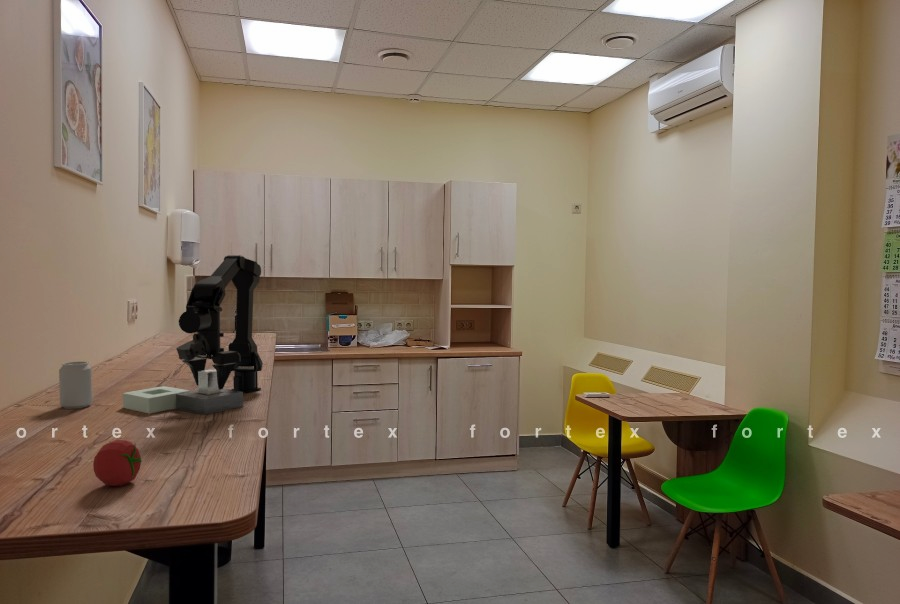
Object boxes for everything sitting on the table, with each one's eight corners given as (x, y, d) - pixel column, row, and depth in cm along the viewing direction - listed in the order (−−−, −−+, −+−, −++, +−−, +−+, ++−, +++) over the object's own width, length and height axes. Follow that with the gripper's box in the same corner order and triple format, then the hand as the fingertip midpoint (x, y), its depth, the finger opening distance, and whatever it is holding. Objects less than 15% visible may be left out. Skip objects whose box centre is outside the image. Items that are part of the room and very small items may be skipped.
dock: (164, 399, 176) (164, 386, 176) (190, 405, 170) (190, 390, 170) (123, 407, 166) (122, 393, 166) (149, 413, 160) (148, 398, 159)
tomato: (90, 435, 107) (133, 428, 107) (116, 452, 113) (156, 445, 113) (79, 480, 102) (124, 473, 102) (107, 495, 109) (149, 488, 108)
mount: (214, 401, 175) (214, 387, 175) (242, 406, 169) (242, 391, 168) (176, 409, 165) (175, 394, 165) (204, 414, 159) (204, 399, 158)
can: (98, 403, 171) (97, 360, 170) (79, 410, 163) (78, 364, 163) (73, 403, 172) (72, 360, 171) (53, 409, 164) (52, 364, 164)
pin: (211, 405, 170) (211, 369, 169) (221, 407, 168) (220, 370, 167) (198, 408, 166) (198, 371, 166) (208, 410, 164) (207, 372, 164)
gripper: (160, 329, 164) (161, 388, 165) (204, 334, 154) (205, 396, 155) (197, 326, 173) (198, 382, 174) (241, 330, 163) (242, 389, 164)
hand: (209, 387), depth 167 cm, fingers open, 9 cm apart
